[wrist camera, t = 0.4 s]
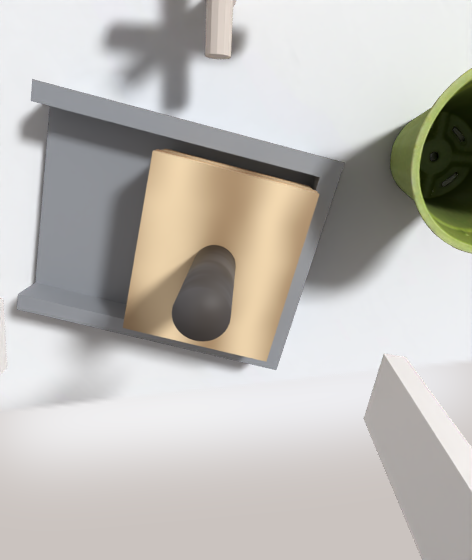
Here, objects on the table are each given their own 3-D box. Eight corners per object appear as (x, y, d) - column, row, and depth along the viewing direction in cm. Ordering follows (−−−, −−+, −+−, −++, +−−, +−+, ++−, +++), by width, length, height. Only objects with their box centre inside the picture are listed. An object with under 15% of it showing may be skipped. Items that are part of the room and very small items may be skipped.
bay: (41, 291, 39) (17, 309, 35) (60, 87, 33) (32, 79, 29) (273, 346, 41) (276, 370, 36) (332, 159, 34) (344, 162, 30)
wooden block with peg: (140, 299, 37) (75, 396, 23) (168, 148, 33) (108, 153, 19) (263, 329, 38) (273, 440, 24) (308, 184, 33) (352, 216, 19)
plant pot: (529, 109, 33) (666, 93, 22) (455, 240, 36) (541, 280, 26) (401, 55, 32) (478, 11, 21) (338, 195, 35) (377, 219, 25)
